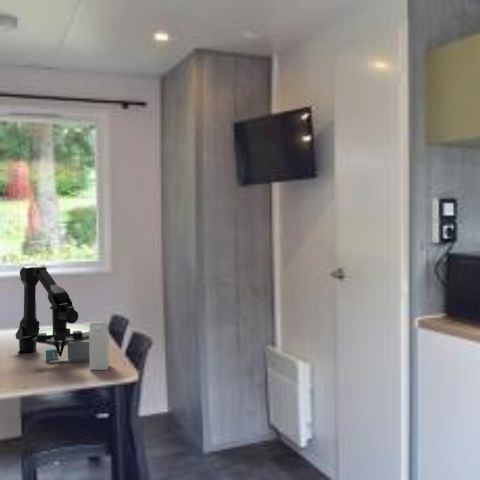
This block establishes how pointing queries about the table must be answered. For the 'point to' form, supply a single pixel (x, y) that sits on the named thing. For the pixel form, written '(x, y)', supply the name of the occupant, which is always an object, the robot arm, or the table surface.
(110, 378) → the table surface
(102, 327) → the milk carton
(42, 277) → the robot arm
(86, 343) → the screen
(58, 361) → the rail
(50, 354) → the cube
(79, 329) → the square plate
